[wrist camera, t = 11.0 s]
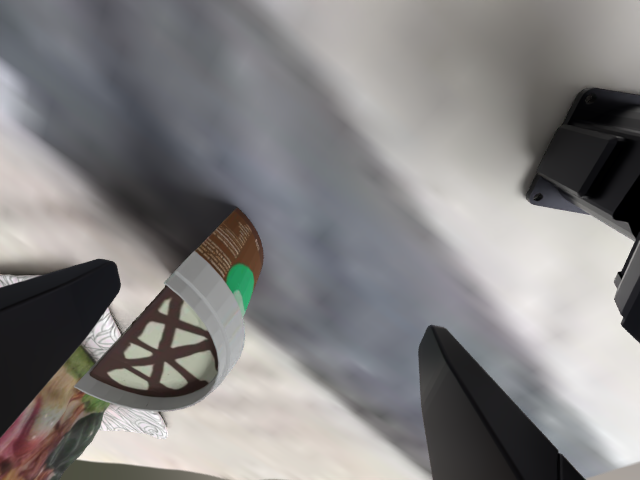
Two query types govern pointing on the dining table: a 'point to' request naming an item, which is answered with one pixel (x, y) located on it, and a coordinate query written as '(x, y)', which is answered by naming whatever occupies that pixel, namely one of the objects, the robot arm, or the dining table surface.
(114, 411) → the cookie jar
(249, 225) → the food container
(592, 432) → the dining table surface
